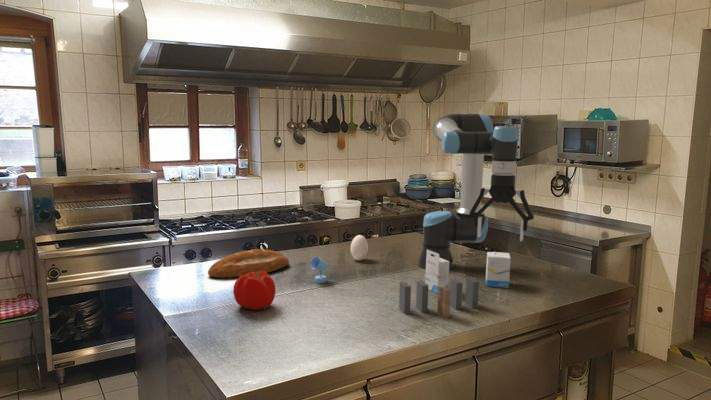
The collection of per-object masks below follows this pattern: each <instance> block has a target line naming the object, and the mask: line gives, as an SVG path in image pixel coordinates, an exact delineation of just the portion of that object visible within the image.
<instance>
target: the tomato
mask: <svg viewBox="0 0 711 400" xmlns="http://www.w3.org/2000/svg"><path fill="white" fill-rule="evenodd" d="M232 289H233V290H232V292H233V297H234V300H235V301H236V303H237V305H239V306H240V307H242V308H243V309H246V310H249V309H250V310H252V311H258V310H264V309H266V308H267V307H270V306H271V305H272V303H273V302H274V299H275V297H276V284H275V281H274V279H273V278H272V277H271V275H270V274H269V273H267V272H266V271H259V272H257V273H255V272H250V273H247V274H246V275H243V276H240V277H237V279H236V280H235V282H234V284H233V288H232Z"/></svg>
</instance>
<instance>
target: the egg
mask: <svg viewBox="0 0 711 400" xmlns="http://www.w3.org/2000/svg"><path fill="white" fill-rule="evenodd" d="M350 254H351V256H352V257H353V258H354V259H355V260H357V261H363V260H365V258H367V256H368V254H369V243H368V241H367V239H366V237H365V236H363V235H361V234H358V235H356V236H354V238H353V239H352V240H351V243H350Z"/></svg>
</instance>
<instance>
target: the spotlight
mask: <svg viewBox="0 0 711 400" xmlns="http://www.w3.org/2000/svg"><path fill="white" fill-rule="evenodd" d="M309 266H310V268H311V270H317V271H318V270H319V275H315V276H314V282H315V283H318V284H324V283H326V282H327V280H328V279H327V276H326V275H323V274H322V273H323V271H327V270H328V268H329V264H328V263H327V261H325V260H323V259H321V258H320V257H319V256H314V257H312V259H311V260H310V265H309Z"/></svg>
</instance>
